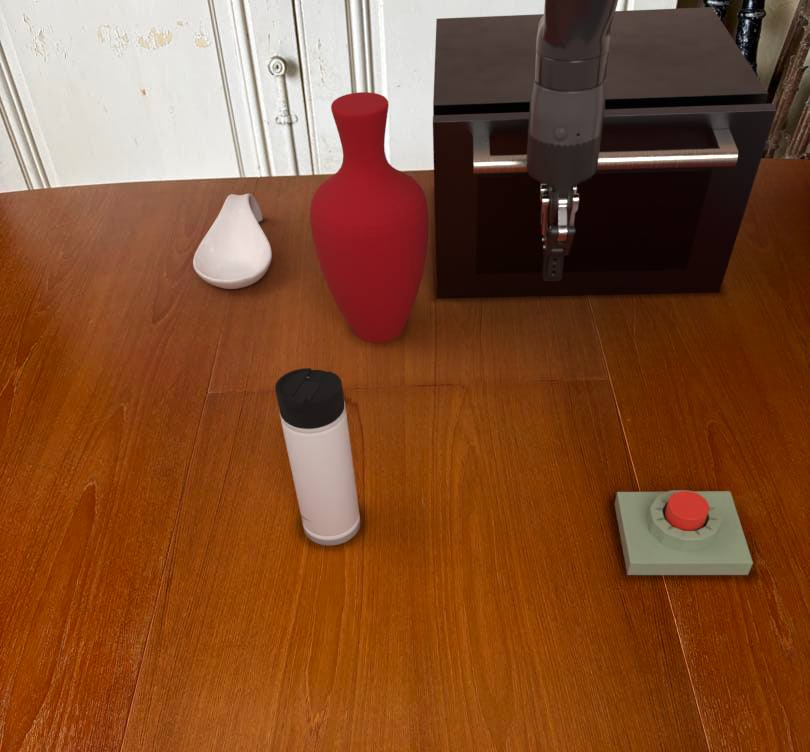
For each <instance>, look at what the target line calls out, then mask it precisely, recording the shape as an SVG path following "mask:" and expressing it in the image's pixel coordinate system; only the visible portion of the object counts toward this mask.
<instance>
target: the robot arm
mask: <svg viewBox="0 0 810 752" xmlns="http://www.w3.org/2000/svg"><path fill="white" fill-rule="evenodd" d="M618 2H619V0H544V7H543V14H544V15H543V16H542V18H541V20H540V23H539V26H538V31H537V38H536V51H535V68H534V81H533V88H532V93H531V99H530V108H529V127H528V143H527V160H526V169H527V172H528V174H529V175H530V176H531V177H532V178H533V179H534V180H536V181H538V182H541V183H542V184H540V200H541V213H540V221H541V225H542V226H541V229H542V235H543V238H542V242H543V250H544V255H543V267H542V274H543V280H544V281H559V280H561V278H562V271H563V261H564V255H568V253H569V251H570V247H571V244H572V241H573V238H574V234H575V232H576V229H575V226H574V219H575V213H576V212H577V210H578V205H579V194H576V191H577V185H578V184H579V183H581V182H585V181H587V180H589V179H590V178H591V177H593V176H594V174H595V173H596V171H597V167H598V159H599V151H600V143H601V135H602V127H603V118H604V110H605V82H606V73H607V64H608V56H609V48H610V32H611V24H612V21H613V17H614V14H615V11H617V6H618Z"/></svg>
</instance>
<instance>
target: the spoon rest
mask: <svg viewBox="0 0 810 752" xmlns="http://www.w3.org/2000/svg"><path fill="white" fill-rule="evenodd" d="M263 220H264V219H263V214H262V211H261V207H260V206H259V204H258V202H257V200H256V199H255V197H254V195H253V194H251V193H245V194H234V193H230V194H229V195H227V196H226V199H225V201H224V203H223V205H222V208H221V209H220V211H219V213H218V215H217V216H216V218H215V220H214V222H213V223H212V225H211V227H210V228H209V230H208V231H207V232H206V234H205V235H204V237H203V239H202V240H201V242H200V243H199V245H198V247H197V249H196V251H195V253H194V256H193V259H192V266H193V270H194V271H195V273H196V274H197V275H198V276H199V277H200V278H201V279H202V280H203V281H205V282H206V283H208V284H210V285H211V286H214V287H217V288H221V289H226V290H227V289H228V290H236V289H237V290H238V289H243V288H246V287H248V286H252V285H253V284H255V283H257V282H259V281H260V280H261V279H262V278H263V277H264V276H265V274H266V273H267V272H268V270H269V268H270V265H271V262H272V258H273V252H272V251H273V250H272V247H271V243H270V241H269V239H268V237H267V236H266V234H265V232H264V230H263V228H262V227H261V225H260V223H261V222H262V221H263Z"/></svg>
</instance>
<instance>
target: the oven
mask: <svg viewBox="0 0 810 752" xmlns="http://www.w3.org/2000/svg"><path fill="white" fill-rule="evenodd" d="M543 15H544V13H538V14H516V15H492V16H491V15H489V16H488V15H487V16H468V17H467V16H466V17H465V16H464V17H442V18H435V19H436V20H435V21H436V22H435V48H434V73H433V74H434V76H433V101H432V114H433V115H461V114H490V113H518V112H529V108H530V99H531V93H532V88H533V81H534V68H535V51H536V38H537V31H538V26H539V23H540V20H541V18H542V16H543ZM768 97H769V92H768V90H767V88H765V86H764V84H763V83H762V81H761V80H760V78H759V77H758V75H757V74H756V72H755V70H754V69H753V67H752V66H751V65H750V63H749V62H748V60H747V58H746V57H745V56H744V54H743V52H742V50H741V49H740V47H739V46H738V45H737V43H736V42H735V40H734V38H733V37H732V35H731V34H730V32H729V31H728V29H727V28H726V26H725V25H724V23H723V21H722V20H721V18H720V17H719V15H718V14H717V13H716V11H715V9H714V8H713V6H705V7H703V6H702V7H681V8H659V9H658V8H657V9H655V8H654V9H635V10H616V11H615V14H614V17H613V21H612V24H611V32H610V48H609V56H608V64H607V73H606V82H605V109H633V108H662V107H691V106H720V105H748V104H767V99H768ZM433 115H432V116H433Z"/></svg>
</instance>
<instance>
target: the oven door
mask: <svg viewBox="0 0 810 752" xmlns="http://www.w3.org/2000/svg"><path fill="white" fill-rule="evenodd" d="M776 113H777V109H776V106H775V104H774V103H766V104H748V105H720V106H691V107H662V108H633V109H605V110H604V118H603V127H602V135H601V143H600V151H599V159H598V167H597V171H596V173H595V174H594V176H593V177H591V178H590V179H589V180H587V181H585V182H581V183H579V184H578V185H577V191H576V194H579V205H578V210H577V212H576V213H575V219H574V226H575V229H576V232H575V234H574V238H573V241H572V244H571V247H570V251H569V253H568V255H564V261H563V271H562V278H561V280H559V281H544V280H543V274H542V267H543V255H544V250H543V242H542V238H543V235H542V229H541V226H542V225H541V221H540V213H541V200H540V184H542V183H541V182H538V181H536V180H534V179H533V178H532V177H531V176H530V175H529V174H528V172H527V169H526V160H527V143H528V127H529V112H518V113H490V114H461V115H432V150H433V187H434V188H433V191H434V192H433V196H434V197H433V198H434V237H435V269H436V270H435V275H436V276H435V277H436V299H437V300H439V299H440V300H441V299H445V300H446V299H478V298H479V299H483V298H485V299H486V298H487V299H489V298H491V299H493V298H531V297H533V298H534V297H535V298H536V297H539V298H540V297H583V296H585V297H586V296H627V295H629V296H631V295H632V296H633V295H676V294H677V295H678V294H681V295H682V294H683V295H684V294H720V293H721V289H722V285H723V283H724V279H725V277H726V273H727V269H728V267H729V263H730V260H731V257H732V254H733V250H734V248H735V245H736V241H737V237H738V235H739V231H740V228H741V225H742V222H743V219H744V215H745V212H746V209H747V206H748V203H749V199H750V196H751V193H752V190H753V187H754V183H755V180H756V177H757V174H758V171H759V168H760V164H761V162H762V158H763V155H764V151H765V148H766V145H767V141H768V139H769V135H770V132H771V129H772V127H773V122H774V120H775V116H776Z"/></svg>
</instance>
